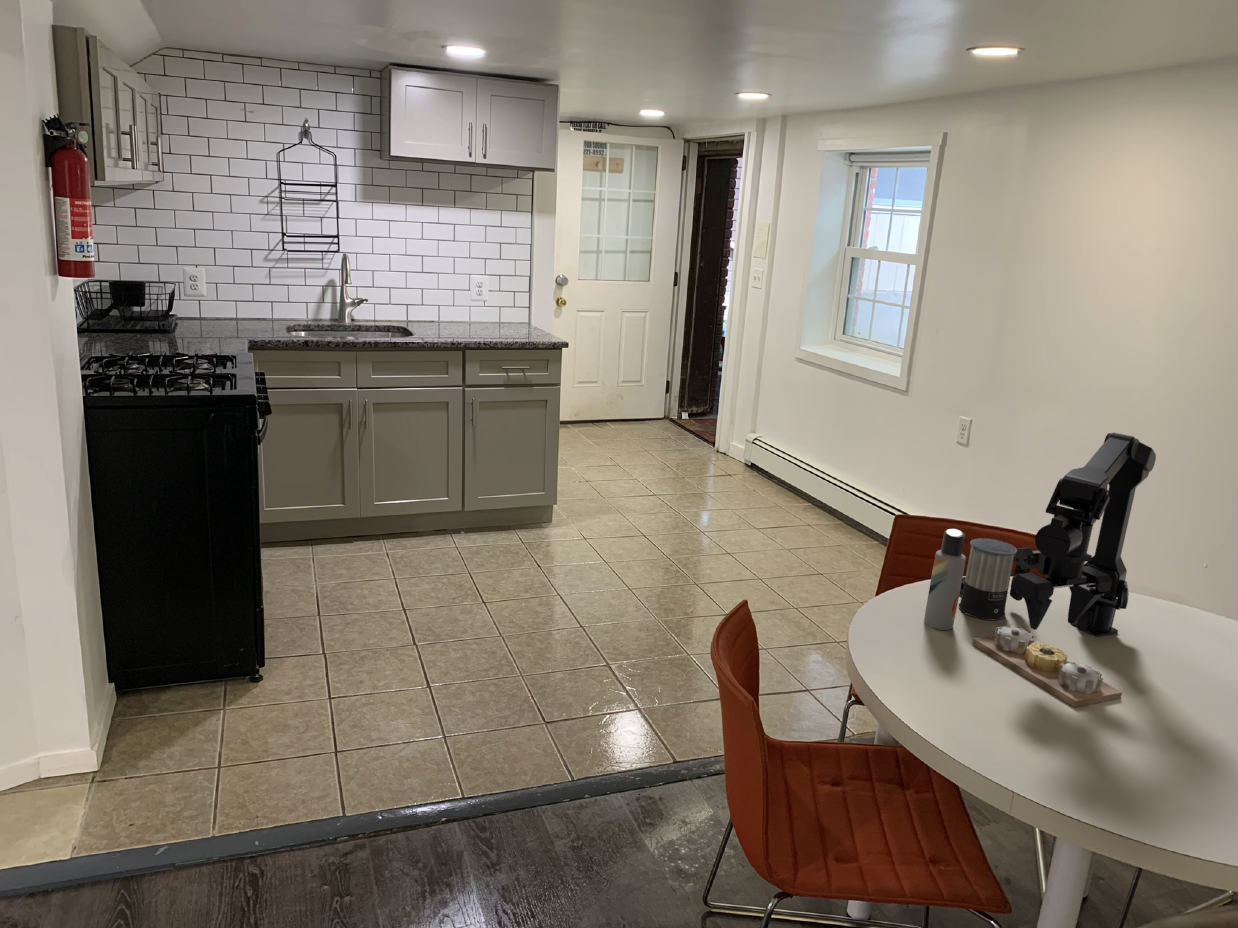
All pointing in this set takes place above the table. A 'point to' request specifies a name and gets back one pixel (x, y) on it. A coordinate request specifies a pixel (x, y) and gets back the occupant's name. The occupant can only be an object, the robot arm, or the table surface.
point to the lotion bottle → (946, 581)
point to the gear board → (1069, 684)
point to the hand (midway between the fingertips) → (1052, 626)
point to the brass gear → (1045, 658)
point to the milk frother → (989, 579)
